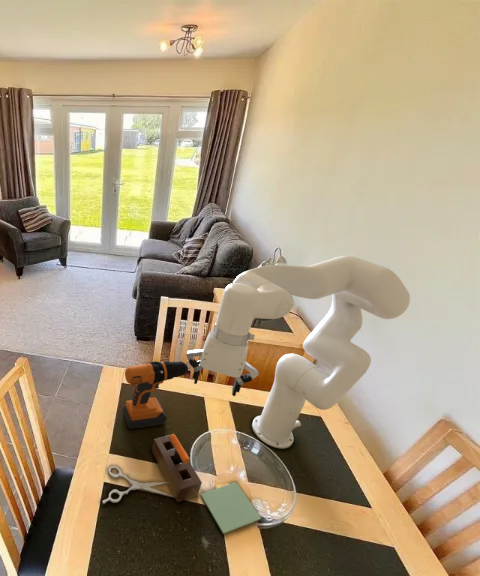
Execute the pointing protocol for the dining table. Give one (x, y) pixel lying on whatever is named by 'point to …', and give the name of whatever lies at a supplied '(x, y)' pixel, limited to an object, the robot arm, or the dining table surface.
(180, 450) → the t handle
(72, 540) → the dining table surface
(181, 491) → the rack
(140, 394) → the power drill
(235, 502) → the mat
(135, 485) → the scissors
